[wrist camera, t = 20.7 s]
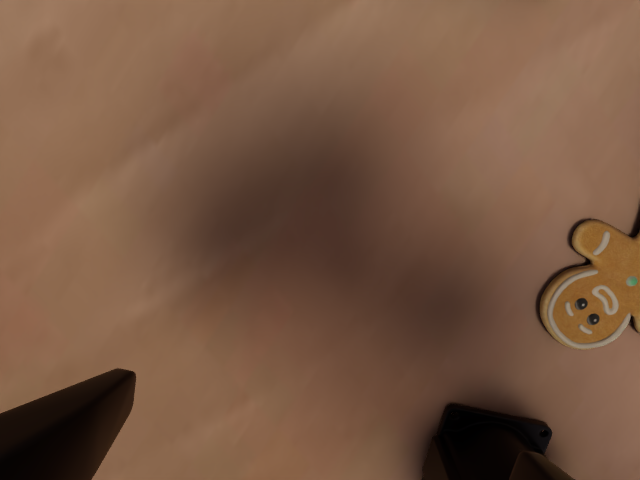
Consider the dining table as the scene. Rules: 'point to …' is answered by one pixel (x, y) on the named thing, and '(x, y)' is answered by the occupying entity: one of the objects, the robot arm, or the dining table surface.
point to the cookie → (595, 289)
